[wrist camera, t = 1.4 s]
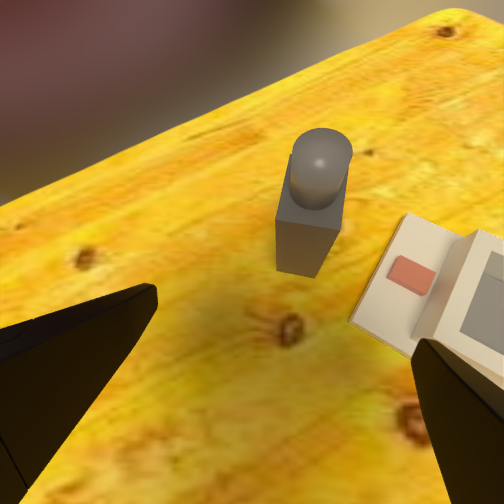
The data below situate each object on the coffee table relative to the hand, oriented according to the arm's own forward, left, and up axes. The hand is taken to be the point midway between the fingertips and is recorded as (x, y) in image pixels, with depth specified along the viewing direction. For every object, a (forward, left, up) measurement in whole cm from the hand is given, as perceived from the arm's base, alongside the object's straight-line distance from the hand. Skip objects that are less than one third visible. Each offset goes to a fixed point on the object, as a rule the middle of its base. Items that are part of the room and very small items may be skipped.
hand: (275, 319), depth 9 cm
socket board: (-9, -13, -13) cm, 20 cm away
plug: (+4, -6, -13) cm, 15 cm away
